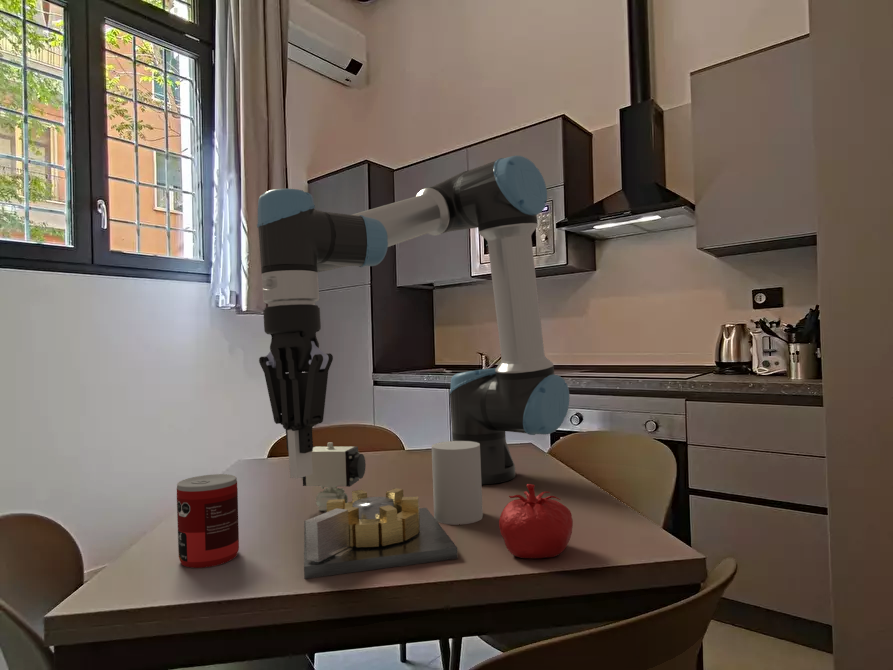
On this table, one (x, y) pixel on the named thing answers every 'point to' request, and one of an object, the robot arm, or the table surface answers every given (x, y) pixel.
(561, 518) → the red tomato
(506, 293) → the robot arm
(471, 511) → the white cylinder
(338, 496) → the pneumatic valve
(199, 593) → the table surface
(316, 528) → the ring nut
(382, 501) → the base plate
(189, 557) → the canned food
